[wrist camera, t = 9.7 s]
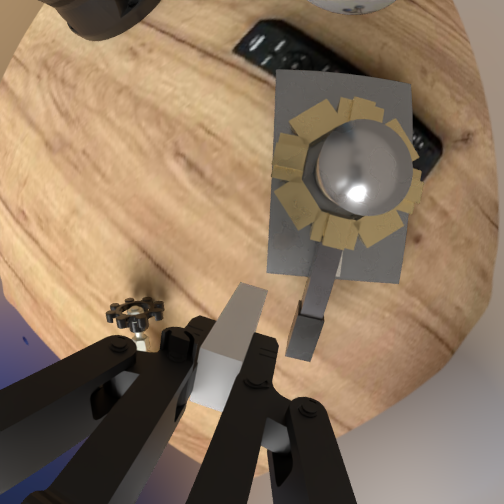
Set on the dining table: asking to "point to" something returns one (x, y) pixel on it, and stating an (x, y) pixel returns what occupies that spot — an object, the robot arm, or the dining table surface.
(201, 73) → the dining table surface
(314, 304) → the grey bar gold ring
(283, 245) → the plate
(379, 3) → the teacup
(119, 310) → the valve
